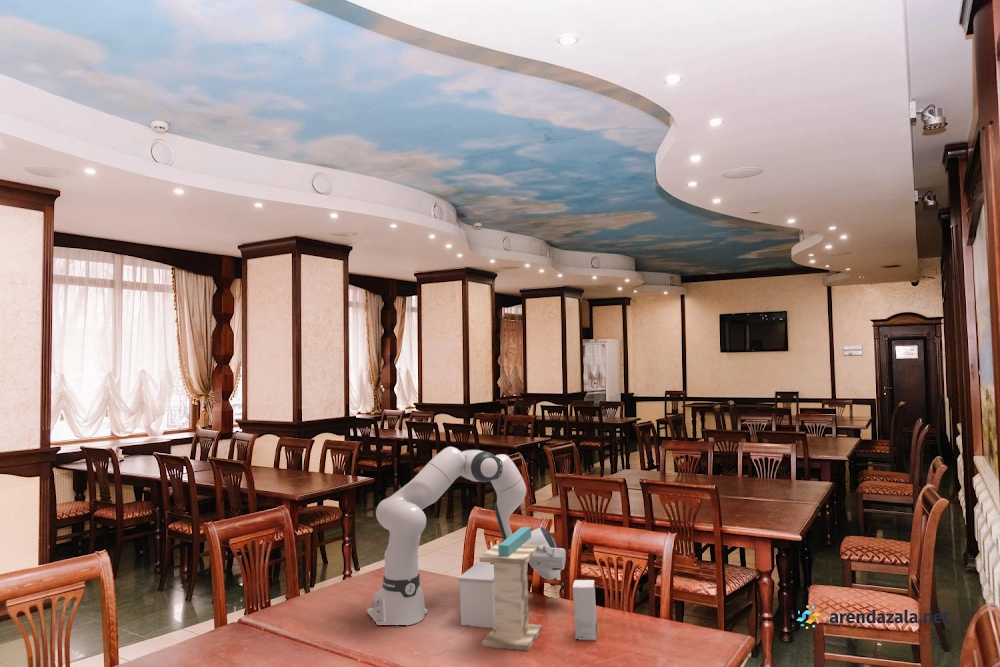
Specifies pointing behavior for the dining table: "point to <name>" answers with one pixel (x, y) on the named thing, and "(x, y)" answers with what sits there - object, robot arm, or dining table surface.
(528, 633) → the birch pedestal
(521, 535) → the teal bar
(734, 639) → the dining table surface
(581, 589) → the skincare box
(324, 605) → the dining table surface
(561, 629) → the dining table surface
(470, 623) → the grey storage box
